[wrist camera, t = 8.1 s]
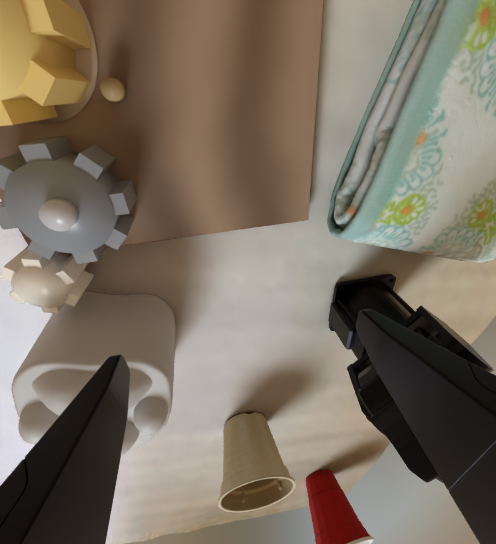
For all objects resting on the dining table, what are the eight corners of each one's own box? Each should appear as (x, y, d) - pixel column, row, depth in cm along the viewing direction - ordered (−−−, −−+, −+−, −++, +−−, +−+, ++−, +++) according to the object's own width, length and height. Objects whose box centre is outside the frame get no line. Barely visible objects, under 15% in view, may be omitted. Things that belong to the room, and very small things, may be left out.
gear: (117, 131, 16) (99, 140, 12) (148, 234, 19) (141, 261, 16) (-9, 142, 15) (-62, 155, 12) (49, 248, 19) (21, 279, 15)
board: (320, -95, 13) (346, -132, 11) (302, 214, 22) (315, 227, 20) (-155, -100, 11) (-240, -148, 9) (43, 249, 20) (25, 268, 18)
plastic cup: (335, 481, 60) (364, 557, 50) (290, 490, 58) (311, 571, 48) (350, 459, 54) (386, 539, 45) (300, 468, 52) (326, 555, 42)
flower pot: (233, 399, 35) (244, 476, 28) (288, 408, 39) (311, 478, 32) (200, 436, 39) (203, 513, 31) (254, 442, 43) (268, 511, 35)
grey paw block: (179, 295, 24) (176, 378, 17) (171, 384, 31) (166, 470, 24) (46, 289, 22) (-23, 384, 14) (68, 388, 28) (29, 486, 21)
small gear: (63, 228, 18) (39, 251, 16) (107, 275, 21) (91, 301, 18) (12, 252, 19) (-18, 277, 17) (60, 294, 22) (39, 321, 19)
